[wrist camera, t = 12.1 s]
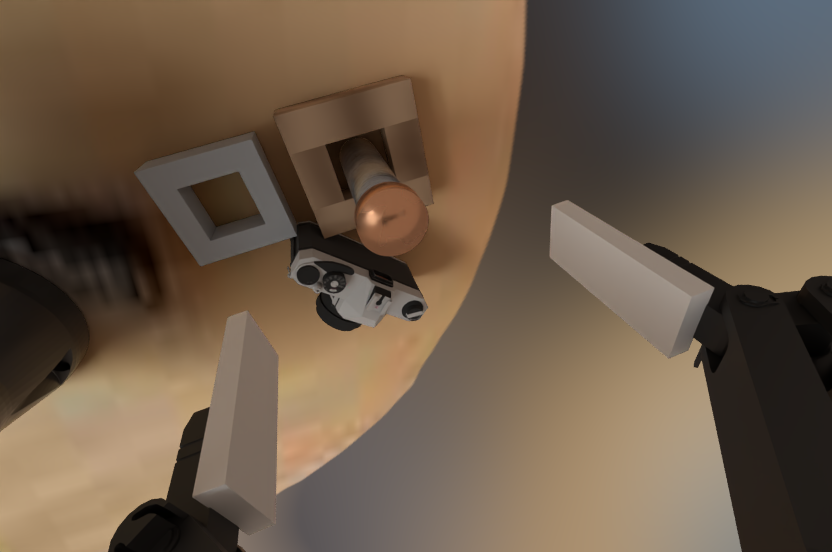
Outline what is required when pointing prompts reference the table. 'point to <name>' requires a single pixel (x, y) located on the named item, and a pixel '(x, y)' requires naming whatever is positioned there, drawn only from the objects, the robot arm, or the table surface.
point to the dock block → (345, 118)
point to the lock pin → (381, 201)
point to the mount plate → (188, 215)
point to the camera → (352, 280)
